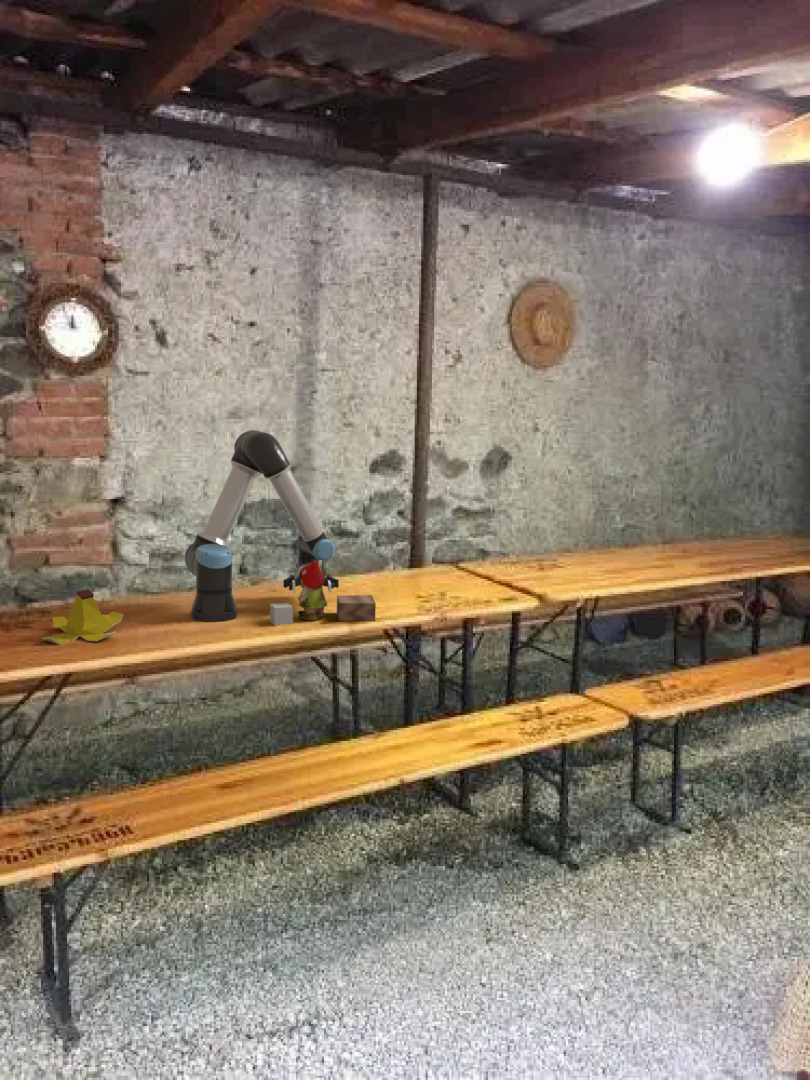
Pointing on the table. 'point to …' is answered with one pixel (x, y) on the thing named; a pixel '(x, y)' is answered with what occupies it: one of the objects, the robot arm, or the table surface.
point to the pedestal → (356, 608)
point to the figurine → (312, 593)
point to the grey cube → (281, 613)
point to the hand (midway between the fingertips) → (312, 588)
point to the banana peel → (84, 621)
